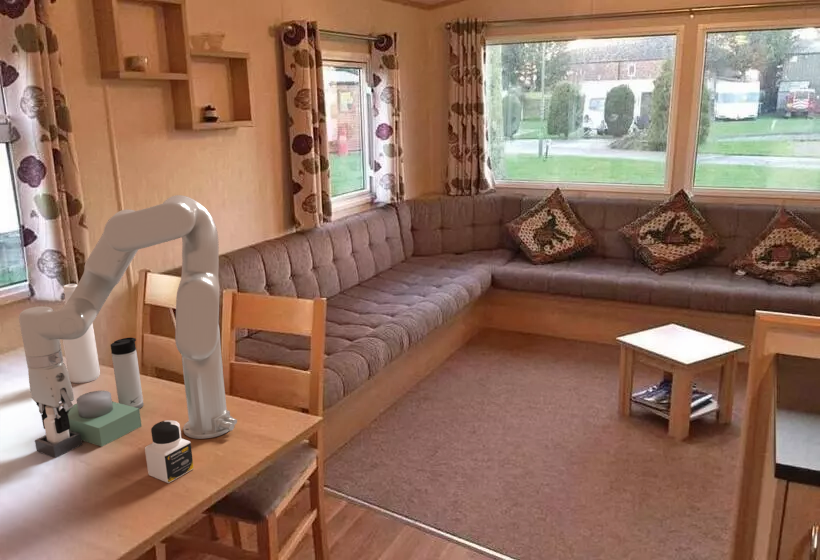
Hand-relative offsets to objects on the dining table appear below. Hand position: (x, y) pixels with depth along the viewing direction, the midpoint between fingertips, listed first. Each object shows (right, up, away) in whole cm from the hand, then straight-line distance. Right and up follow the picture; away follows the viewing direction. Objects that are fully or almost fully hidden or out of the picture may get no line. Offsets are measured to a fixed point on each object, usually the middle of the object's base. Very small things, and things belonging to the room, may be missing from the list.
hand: (56, 428), depth 161 cm
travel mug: (+9, 0, +23) cm, 25 cm away
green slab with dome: (+5, -3, +11) cm, 12 cm away
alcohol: (-15, +5, +44) cm, 47 cm away
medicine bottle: (+32, -8, -11) cm, 35 cm away
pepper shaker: (0, -4, +1) cm, 4 cm away
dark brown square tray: (0, -5, +1) cm, 5 cm away
